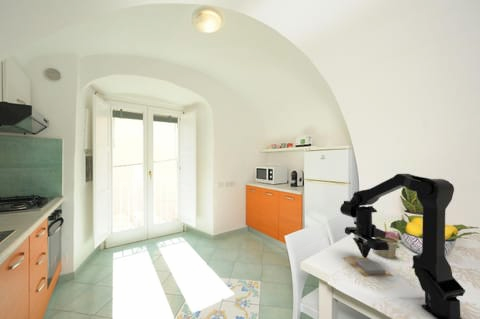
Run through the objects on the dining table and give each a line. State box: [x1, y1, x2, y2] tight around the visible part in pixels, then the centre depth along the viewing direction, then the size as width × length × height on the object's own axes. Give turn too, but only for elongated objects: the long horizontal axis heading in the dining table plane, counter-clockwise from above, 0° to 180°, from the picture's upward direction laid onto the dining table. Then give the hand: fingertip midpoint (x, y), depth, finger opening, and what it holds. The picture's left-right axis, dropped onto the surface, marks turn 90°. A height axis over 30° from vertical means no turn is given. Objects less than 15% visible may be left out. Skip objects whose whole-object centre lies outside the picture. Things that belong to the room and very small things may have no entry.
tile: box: [356, 260, 386, 274], centre depth 75 cm, size 2×7×7 cm
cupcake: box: [383, 221, 400, 241], centre depth 101 cm, size 9×8×12 cm
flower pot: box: [374, 236, 400, 259], centre depth 87 cm, size 9×9×9 cm
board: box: [342, 257, 394, 278], centre depth 77 cm, size 14×12×1 cm
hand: (364, 257), depth 78 cm, fingers closed
